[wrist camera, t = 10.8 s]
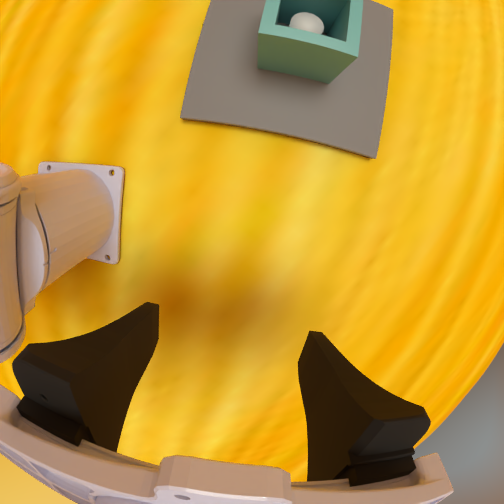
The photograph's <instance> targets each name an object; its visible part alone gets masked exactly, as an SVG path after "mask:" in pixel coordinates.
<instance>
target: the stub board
mask: <svg viewBox="0 0 504 504" xmlns="http://www.w3.org/2000/svg"><path fill="white" fill-rule="evenodd" d="M265 3H266V0H211V2H210V5H209V8H208V11H207V14H206V17H205V21H204V24H203V27H202V30H201V34H200V37H199V41H198V44H197V48H196V51H195V55H194V59H193V63H192V67H191V71H190V75H189V79H188V83H187V88H186V92H185V96H184V101H183V106H182V111H181V116H180V118H182V119H184V120H194V121H202V122H211V123H218V124H225V125H232V126H238V127H244V128H250V129H256V130H261V131H266V132H272V133H276V134H281V135H286V136H290V137H295V138H299V139H303V140H308V141H312V142H316V143H320V144H323V145H327V146H331V147H334V148H338V149H342V150H345V151H348V152H352V153H355V154H358V155H362V156H365V157H368V158H373V159H376V156H377V151H378V146H379V140H380V135H381V129H382V123H383V117H384V110H385V103H386V96H387V88H388V80H389V71H390V60H391V47H392V30H393V9H391V8H388V7H386V6H384V5H381V4H379V3H376V2H374V1H371V0H363V11H362V24H361V34H360V44H359V53H358V58H357V59H355V60H354V61H353V62H352V63H351V64H350V65H349V66H348V67H347V68H345V69H344V70H343V71H342V72H341V73H340V74H339V75H338V76H337V77H336V78H335V79H334V80H333V81H332V82H330V83H329V84H327V83H323V82H320V81H316V80H312V79H308V78H304V77H299V76H295V75H290V74H286V73H281V72H276V71H270V70H264V69H258V68H257V64H258V31H259V27H260V23H261V19H262V15H263V11H264V7H265ZM277 25H281V26H286V27H291V28H296V29H300V30H305V31H309V32H313V33H317V34H321V35H324V36H327V33H323V30H324V25H323V22H322V21H321V19H320V18H319V17H317V16H316V15H314V14H311V13H307V12H301V13H297V14H295V15H294V16H293V17H292V18H291V21H290V24H285V23H279V22H278V23H277Z"/></svg>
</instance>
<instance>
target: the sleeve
mask: <svg viewBox="0 0 504 504" xmlns="http://www.w3.org/2000/svg"><path fill="white" fill-rule="evenodd" d="M362 11H363V0H266V3H265V7H264V11H263V15H262V19H261V23H260V27H259V31H258V64H257V68H258V69H264V70H270V71H276V72H281V73H286V74H290V75H295V76H299V77H304V78H308V79H312V80H316V81H320V82H323V83H327V84H329V83H330V82H332V81H333V80H334V79H335V78H336V77H337V76H338V75H339V74H340V73H341V72H342V71H343V70H344V69H345V68H347V67H348V66H349V65H350V64H351V63H352V62H353V61H354V60H355V59H357V58H358V53H359V44H360V34H361V24H362ZM301 12H307V13H311V14H314V15H316V16H317V17H319V18H320V19H321V21H322V22H323V25H324V30H323V33H327V36H324V35H321V34H317V33H313V32H309V31H305V30H300V29H296V28H291V27H286V26H281V25H277V23H278V22H279V23H285V24H290V21H291V18H292V17H293V16H294V15H295V14H297V13H301Z"/></svg>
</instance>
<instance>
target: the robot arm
mask: <svg viewBox="0 0 504 504" xmlns="http://www.w3.org/2000/svg"><path fill="white" fill-rule="evenodd" d="M50 166H51V169H50ZM112 170H114V175H112V174H111V171H112ZM124 174H125V172H124V169H123V168H122V167H120V166H109V165H97V164H83V163H66V162H41V163H40V164H39V168H38V174H32V175H27V176H22V177H20V176H19V175H18V174H16V172H15V171H14V170H13V168H12V167H11V166H9V165H7V164H4V163H0V363H1V362H4V361H6V360H7V359H8V358H10V357H11V356H12V355H13V354H14V353H15V352H17V350H18V349H19V348H20V346H21V344H22V342H23V340H24V337H25V331H26V325H25V318H24V315H25V314H27V313H28V312H29V311H30V310H31V309H32V308H34V307H35V298H36V296H37V295H38V293H40V292H41V291H42V290H43V289H45V288H46V287H47V286H49V285H50V284H51V283H53V282H54V281H55V280H57V279H58V278H59V277H61V276H62V275H63V274H65V273H66V272H67V271H69V270H70V269H71V268H73V267H74V266H76V265H77V264H78V263H80V262H81V261H83V260H84V259H85V258H89V259H93V260H97V261H101V262H105V263H110V264H116V263H118V261H119V255H120V223H121V207H122V194H123V183H124ZM107 255H109V256H110V259H109V258H108V257H107ZM158 339H159V305H158V304H154V303H150V302H146V303H144V304H143V305H141V306H139V307H138V308H136V309H135V310H133V311H131V312H130V313H128V314H126V315H125V316H123V317H121V318H120V319H118V320H116V321H114V322H112V323H110V324H108V325H106V326H104V327H102V328H100V329H98V330H95V331H93V332H90V333H87V334H84V335H81V336H77V337H74V338H70V339H66V340H61V341H55V342H48V343H34V344H28V345H27V346H26V347H25V349H24V350H23V351H22V352H21V353H20V354H19V355H18V356H17V357H16V358H15V359H14V361H13V363H12V366H13V372H14V375H15V377H16V379H17V381H18V383H19V386H20V388H21V390H22V392H23V394H24V395H25V396H24V397H23V398H22V400H20V399H19V397H18V396H16V395H15V394H14V393H12V392H11V391H9V390H8V389H6V388H5V387H3V386H2V385H1V384H0V453H1V454H2V455H4V456H5V457H6V458H8V459H9V460H10V461H12V462H13V463H14V464H16V465H17V466H18V467H20V468H21V469H23V470H24V471H25V472H27V473H28V474H30V475H31V476H33V477H34V478H36V479H37V480H39V481H40V482H42V483H43V484H45V485H46V486H48V487H50V488H51V489H53V490H54V491H56V492H58V493H60V494H61V495H63V496H65V497H67V498H68V499H70V500H72V501H74V502H76V503H78V504H436V503H438V502H439V501H441V500H442V499H444V498H445V497H447V496H448V495H449V494H451V493H452V492H453V491H454V490H453V487H452V485H451V483H450V480H449V478H448V476H447V473H446V471H445V468H444V466H443V464H442V462H441V459H440V457H439V455H438V453H433V454H430V455H426V456H422V457H420V458H417V459H416V460H413V458H412V455H413V454H414V453H415V451H414V448H413V446H414V445H415V444H416V443H417V442H418V441H419V440H420V439H421V438H422V437H423V435H424V434H425V433H426V432H427V430H428V429H429V426H430V422H431V421H430V419H429V417H428V415H427V413H426V411H425V409H424V407H422V406H419V405H416V404H414V403H411V402H408V401H406V400H404V399H402V398H400V397H397V396H395V395H394V394H392V393H390V392H388V391H386V390H385V389H383V388H382V387H380V386H378V385H377V384H375V383H374V382H373V381H371V380H370V379H369V378H367V377H366V376H365V375H363V374H362V373H361V372H360V371H359V370H358V369H357V368H355V367H354V366H353V365H352V364H351V363H350V362H349V361H348V360H347V359H346V358H345V357H344V356H343V355H342V354H341V353H340V352H339V351H338V349H337V348H336V347H335V346H334V345H333V344H332V343H331V342H330V341H329V339H328V338H327V337H326V336H325V335H324V334H323V333H322V332H316V331H309V334H308V336H307V339H306V342H305V345H304V347H303V350H302V353H301V355H300V358H299V361H298V376H299V384H300V389H301V394H302V399H303V404H304V409H305V414H306V421H307V435H308V475H307V482H291V480H290V473H288V472H286V471H284V470H282V469H281V468H278V467H271V466H263V465H249V464H239V463H230V462H222V461H215V460H209V459H203V458H197V457H191V456H181V455H175V456H169V457H165V458H163V460H162V461H161V463H160V466H158V465H154V464H151V463H147V462H144V461H140V460H137V459H134V458H131V457H128V456H125V455H122V454H119V453H116V452H117V448H118V443H119V439H120V435H121V431H122V428H123V424H124V421H125V417H126V414H127V411H128V408H129V405H130V402H131V399H132V396H133V394H134V391H135V389H136V387H137V385H138V383H139V381H140V379H141V377H142V375H143V373H144V371H145V369H146V367H147V365H148V363H149V361H150V359H151V357H152V355H153V353H154V350H155V347H156V344H157V341H158Z"/></svg>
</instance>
